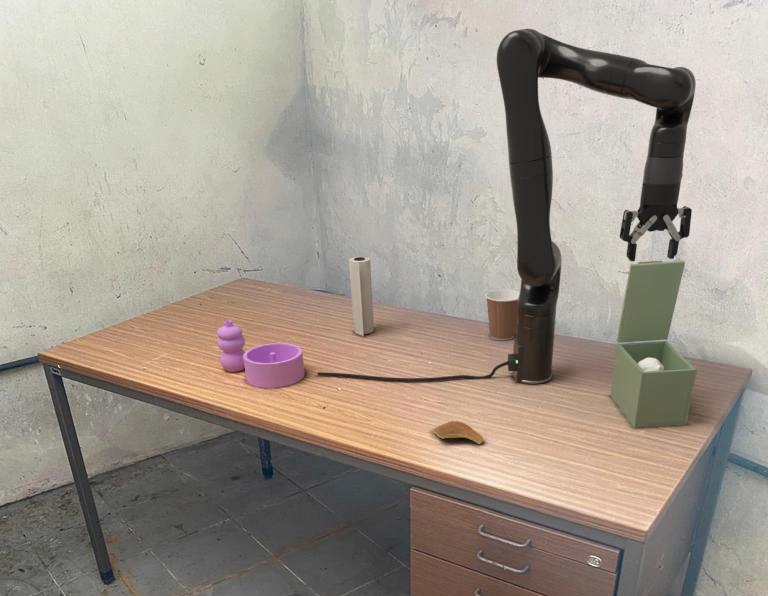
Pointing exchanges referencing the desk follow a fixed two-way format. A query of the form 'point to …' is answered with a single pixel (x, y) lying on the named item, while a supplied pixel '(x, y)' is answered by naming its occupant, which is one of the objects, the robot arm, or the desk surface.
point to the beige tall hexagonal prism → (361, 295)
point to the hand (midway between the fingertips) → (650, 259)
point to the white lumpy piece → (651, 365)
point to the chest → (652, 385)
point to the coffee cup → (502, 313)
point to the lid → (649, 301)
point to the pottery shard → (457, 431)
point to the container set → (260, 359)
